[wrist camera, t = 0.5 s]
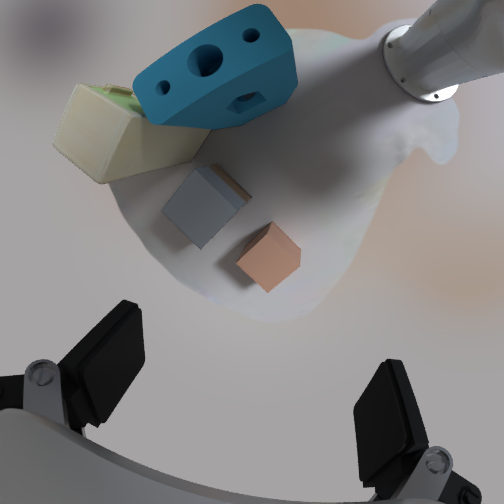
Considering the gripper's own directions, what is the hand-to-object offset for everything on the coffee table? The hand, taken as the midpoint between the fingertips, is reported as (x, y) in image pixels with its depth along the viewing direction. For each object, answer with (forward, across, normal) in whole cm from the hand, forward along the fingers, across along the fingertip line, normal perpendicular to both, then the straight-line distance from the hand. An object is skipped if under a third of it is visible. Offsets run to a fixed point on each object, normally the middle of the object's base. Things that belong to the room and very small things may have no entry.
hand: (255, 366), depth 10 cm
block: (+32, +7, -14) cm, 35 cm away
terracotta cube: (+32, +1, +7) cm, 33 cm away
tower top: (+28, +10, +1) cm, 29 cm away
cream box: (+32, +17, -8) cm, 37 cm away
